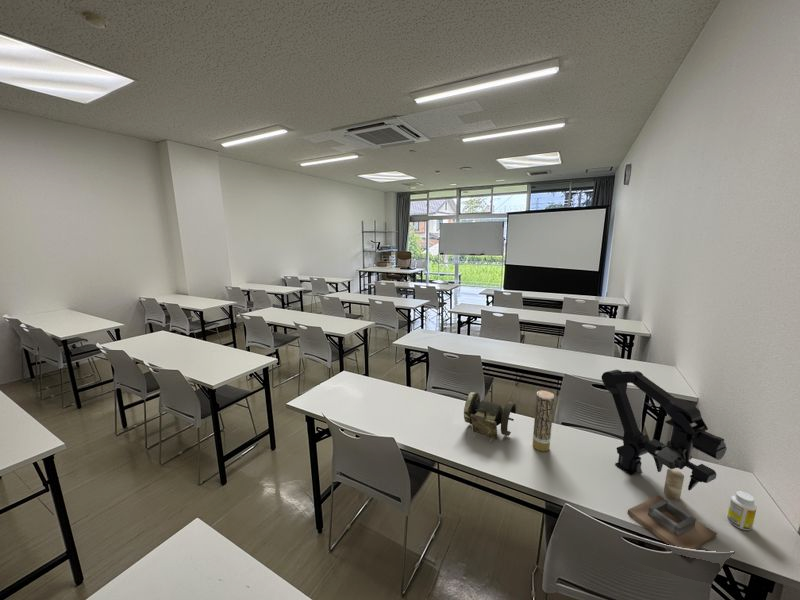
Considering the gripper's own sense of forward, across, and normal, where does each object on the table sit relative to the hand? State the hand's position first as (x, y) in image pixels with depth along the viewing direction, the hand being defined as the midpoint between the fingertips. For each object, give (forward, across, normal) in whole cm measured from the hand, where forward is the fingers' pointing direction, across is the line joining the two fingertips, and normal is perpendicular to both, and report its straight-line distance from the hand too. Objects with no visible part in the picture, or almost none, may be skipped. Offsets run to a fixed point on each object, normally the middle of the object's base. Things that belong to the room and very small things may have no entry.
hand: (673, 480), depth 112 cm
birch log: (+6, -38, -22) cm, 44 cm away
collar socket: (+6, +7, -14) cm, 17 cm away
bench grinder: (+7, -56, -37) cm, 67 cm away
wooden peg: (+6, 0, 0) cm, 6 cm away
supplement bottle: (+6, +15, +7) cm, 18 cm away
